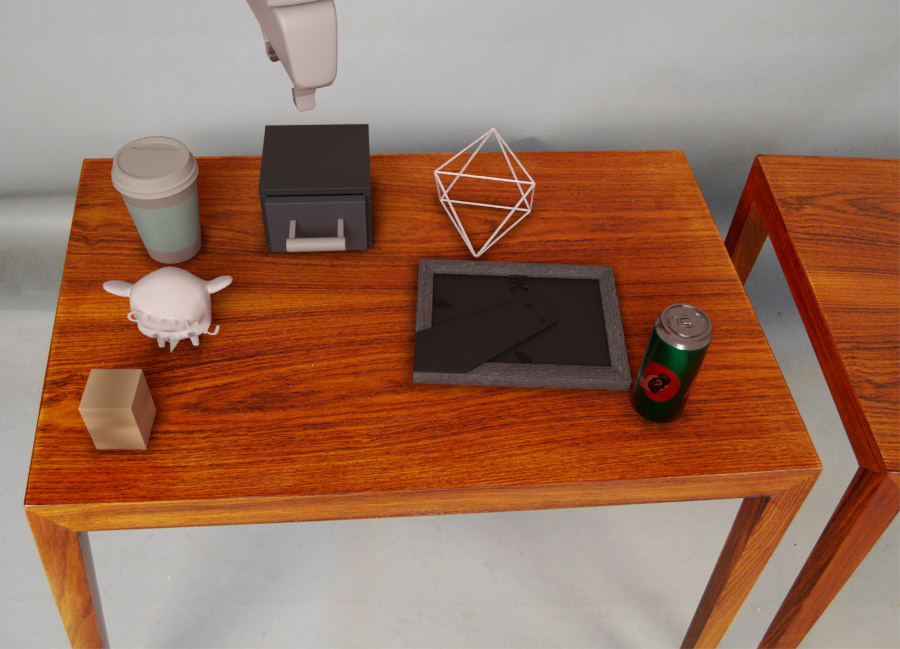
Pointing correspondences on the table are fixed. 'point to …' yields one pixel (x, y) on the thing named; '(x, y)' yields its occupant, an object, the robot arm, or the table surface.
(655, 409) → the soda can
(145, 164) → the coffee cup
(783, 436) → the table surface
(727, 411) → the table surface
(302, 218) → the open drawer with handle
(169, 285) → the figurine
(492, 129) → the geometric polyhedron
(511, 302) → the picture frame
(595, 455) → the table surface
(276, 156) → the dark grey box
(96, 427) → the block
